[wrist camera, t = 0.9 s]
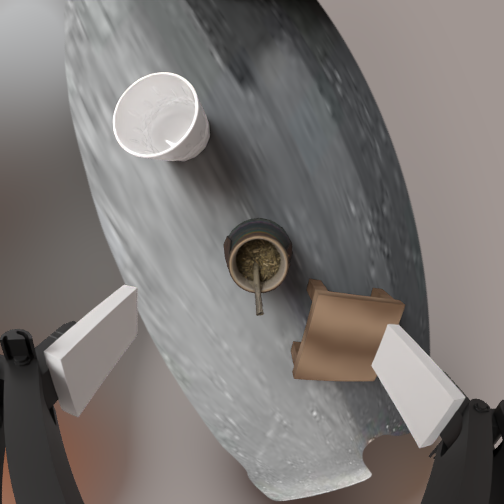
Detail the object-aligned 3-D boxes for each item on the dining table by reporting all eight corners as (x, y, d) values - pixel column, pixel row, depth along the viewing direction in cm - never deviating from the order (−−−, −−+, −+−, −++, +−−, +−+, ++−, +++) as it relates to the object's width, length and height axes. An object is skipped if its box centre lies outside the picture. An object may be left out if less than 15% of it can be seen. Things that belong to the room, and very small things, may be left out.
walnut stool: (307, 276, 33) (318, 294, 27) (384, 287, 33) (405, 305, 27) (288, 351, 35) (293, 378, 29) (360, 356, 35) (374, 380, 30)
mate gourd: (282, 209, 31) (296, 219, 21) (293, 271, 33) (309, 306, 23) (220, 221, 31) (207, 237, 22) (235, 282, 33) (228, 321, 23)
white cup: (228, 123, 29) (217, 94, 19) (190, 178, 30) (162, 174, 20) (176, 93, 28) (147, 60, 18) (140, 146, 29) (98, 133, 20)
